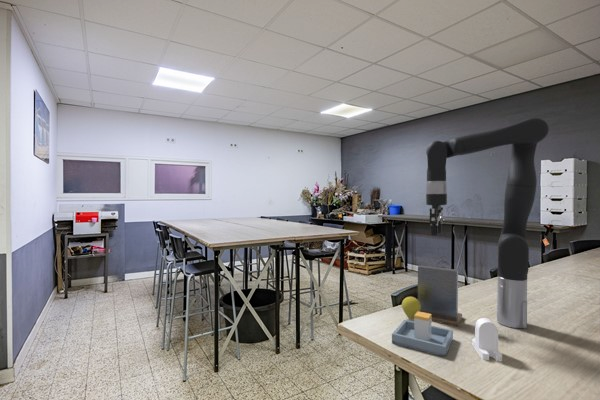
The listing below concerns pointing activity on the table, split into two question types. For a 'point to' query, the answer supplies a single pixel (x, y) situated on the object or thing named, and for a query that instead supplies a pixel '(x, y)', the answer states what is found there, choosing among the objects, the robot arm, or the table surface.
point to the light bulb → (411, 307)
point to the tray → (436, 345)
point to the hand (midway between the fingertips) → (436, 234)
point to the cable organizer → (486, 339)
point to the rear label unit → (439, 294)
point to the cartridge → (422, 326)
